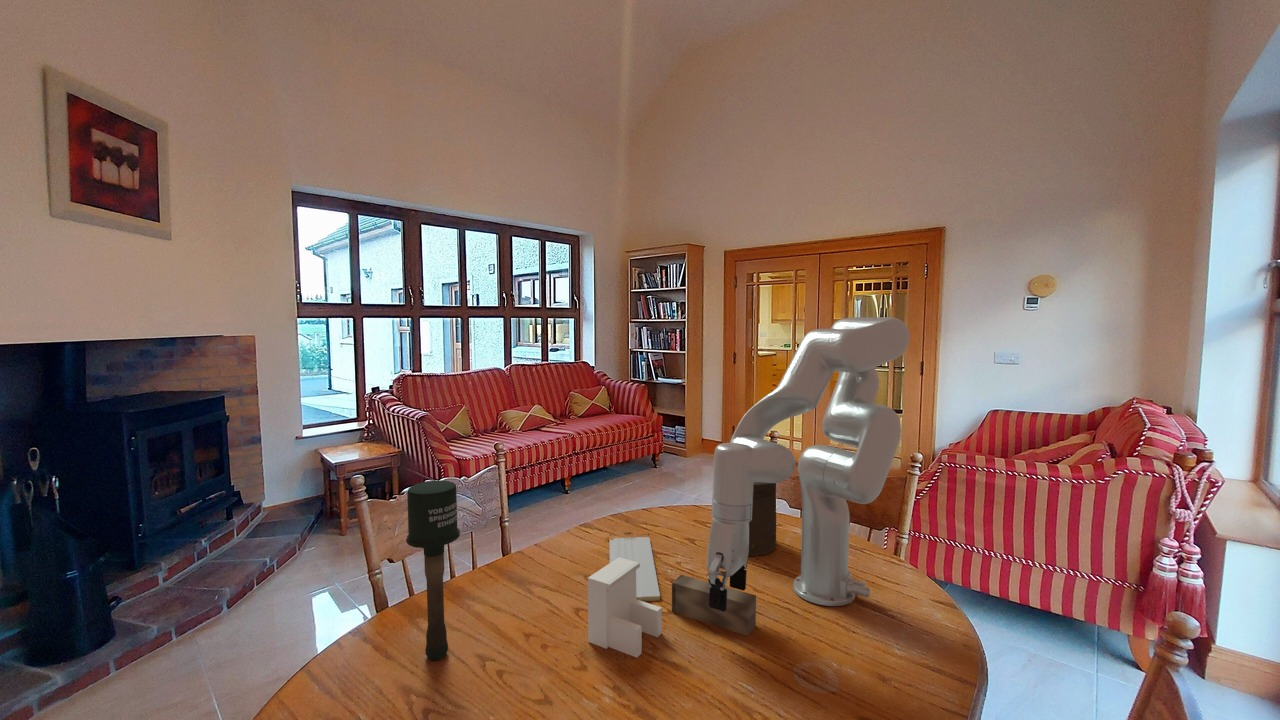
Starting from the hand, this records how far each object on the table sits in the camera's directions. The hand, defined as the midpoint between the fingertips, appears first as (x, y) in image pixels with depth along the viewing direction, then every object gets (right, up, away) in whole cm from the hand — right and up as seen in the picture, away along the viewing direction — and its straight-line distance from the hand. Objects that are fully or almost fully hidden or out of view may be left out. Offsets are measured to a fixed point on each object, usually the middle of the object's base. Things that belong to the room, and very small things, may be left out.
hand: (727, 598), depth 103 cm
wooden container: (+11, -3, +38) cm, 40 cm away
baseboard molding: (-19, -5, +25) cm, 32 cm away
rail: (-2, -5, +3) cm, 7 cm away
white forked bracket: (-19, -6, -3) cm, 20 cm away
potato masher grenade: (-52, -6, -9) cm, 53 cm away
